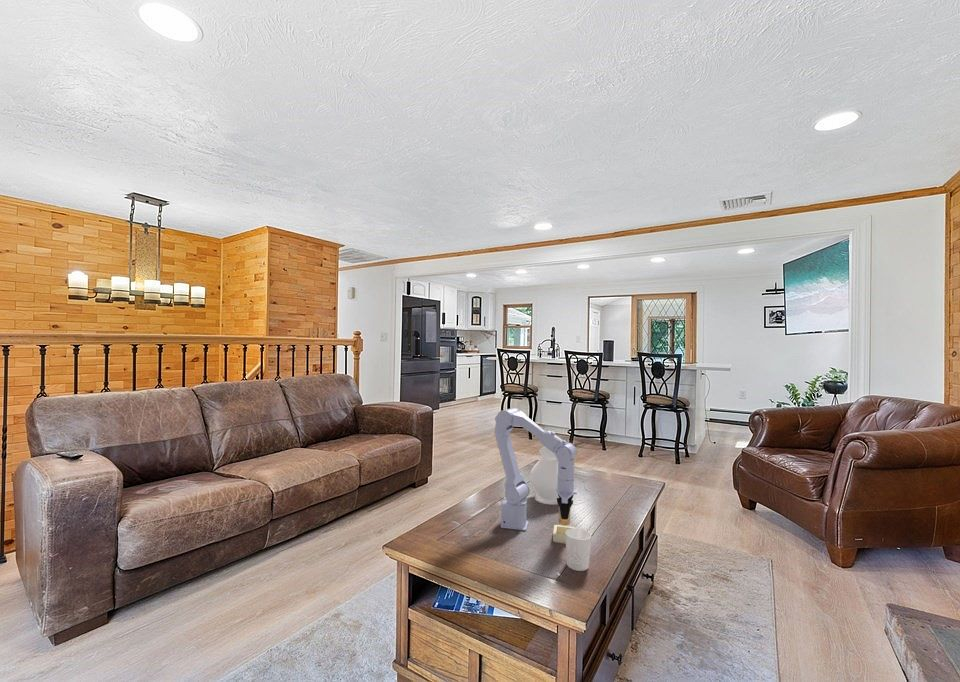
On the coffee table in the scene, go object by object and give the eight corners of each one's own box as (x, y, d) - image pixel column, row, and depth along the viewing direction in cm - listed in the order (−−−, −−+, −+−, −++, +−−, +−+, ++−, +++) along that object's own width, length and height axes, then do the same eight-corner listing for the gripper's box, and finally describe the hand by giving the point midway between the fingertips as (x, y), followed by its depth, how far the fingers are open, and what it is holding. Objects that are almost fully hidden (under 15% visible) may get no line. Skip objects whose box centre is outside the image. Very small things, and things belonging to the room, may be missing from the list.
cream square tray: (552, 542, 150) (553, 533, 150) (554, 532, 157) (554, 524, 157) (574, 544, 148) (575, 536, 148) (575, 535, 155) (575, 527, 155)
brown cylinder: (559, 524, 151) (559, 504, 151) (558, 519, 155) (558, 500, 155) (570, 525, 150) (571, 505, 150) (569, 520, 154) (569, 501, 154)
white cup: (586, 559, 139) (587, 528, 139) (593, 572, 131) (594, 539, 131) (562, 559, 138) (563, 528, 138) (568, 572, 130) (568, 539, 130)
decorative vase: (573, 507, 181) (574, 448, 181) (530, 506, 182) (532, 447, 182) (565, 492, 199) (566, 438, 199) (527, 491, 200) (528, 437, 199)
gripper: (577, 485, 145) (576, 526, 145) (577, 473, 159) (576, 509, 159) (555, 483, 146) (555, 523, 146) (558, 471, 160) (557, 507, 160)
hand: (564, 516), depth 153 cm, fingers closed on brown cylinder, 4 cm apart
